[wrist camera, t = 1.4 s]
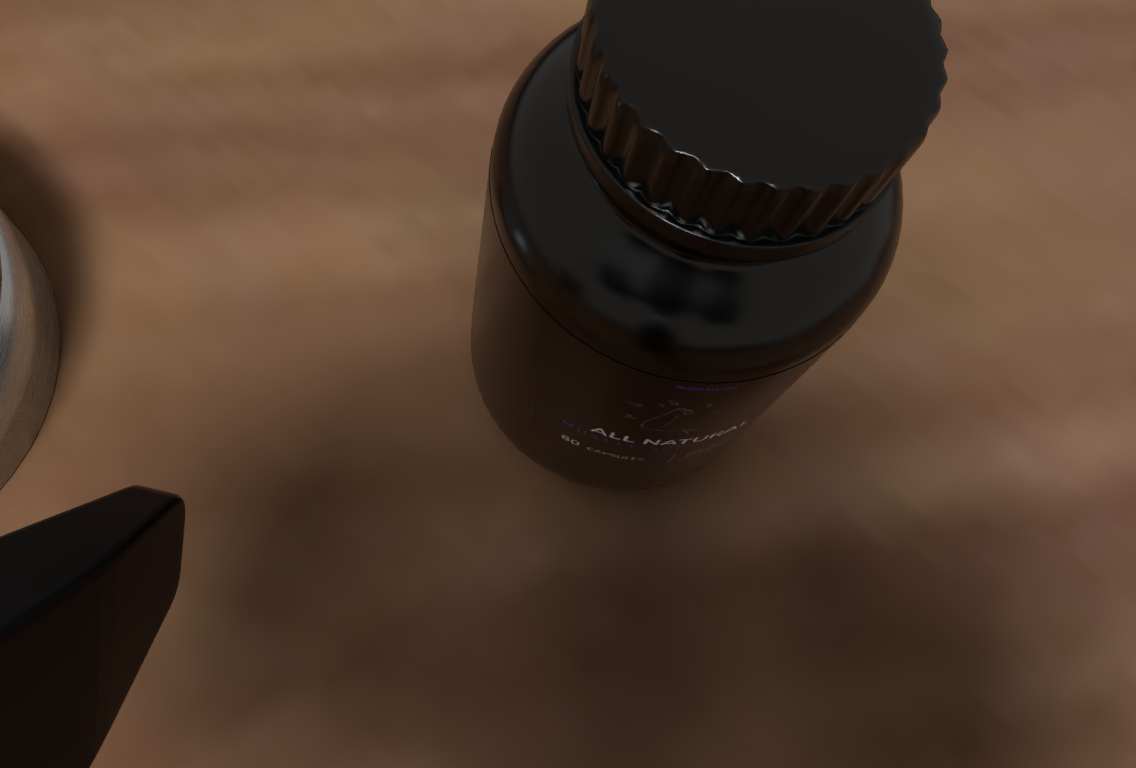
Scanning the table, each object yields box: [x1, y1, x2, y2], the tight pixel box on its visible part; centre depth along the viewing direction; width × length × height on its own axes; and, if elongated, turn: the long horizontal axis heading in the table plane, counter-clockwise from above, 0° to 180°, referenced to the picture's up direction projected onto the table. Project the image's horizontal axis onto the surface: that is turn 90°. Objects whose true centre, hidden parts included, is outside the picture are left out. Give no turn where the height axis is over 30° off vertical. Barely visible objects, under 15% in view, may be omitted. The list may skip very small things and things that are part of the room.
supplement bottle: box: [471, 0, 948, 490], centre depth 19 cm, size 7×7×12 cm
